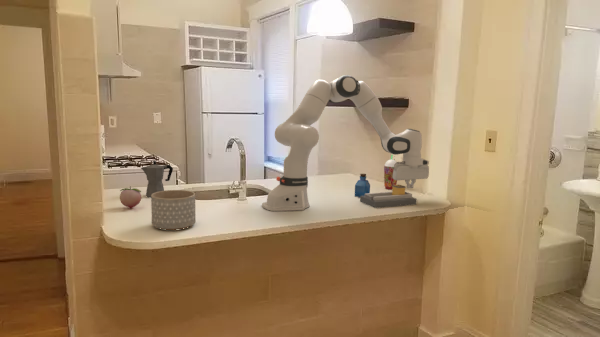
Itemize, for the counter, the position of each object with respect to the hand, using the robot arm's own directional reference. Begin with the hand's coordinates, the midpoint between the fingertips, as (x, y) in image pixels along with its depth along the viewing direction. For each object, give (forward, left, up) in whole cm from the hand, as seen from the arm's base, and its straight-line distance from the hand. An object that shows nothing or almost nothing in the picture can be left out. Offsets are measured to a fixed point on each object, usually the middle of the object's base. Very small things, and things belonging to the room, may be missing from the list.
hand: (409, 188), depth 227 cm
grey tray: (-13, 0, -7) cm, 15 cm away
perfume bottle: (-17, +18, -7) cm, 26 cm away
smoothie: (+10, +31, -7) cm, 33 cm away
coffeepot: (-118, +50, -7) cm, 128 cm away
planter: (-118, -7, -7) cm, 119 cm away
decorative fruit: (-132, +27, -7) cm, 135 cm away
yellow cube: (-7, 0, -4) cm, 8 cm away
